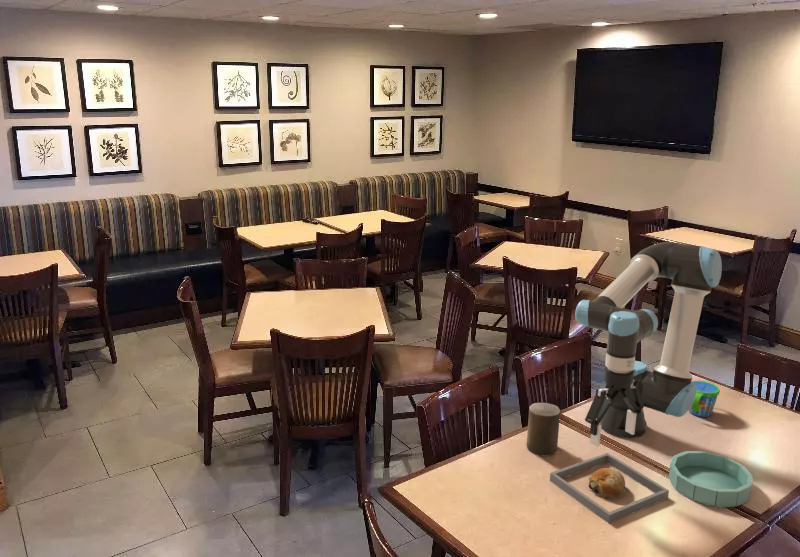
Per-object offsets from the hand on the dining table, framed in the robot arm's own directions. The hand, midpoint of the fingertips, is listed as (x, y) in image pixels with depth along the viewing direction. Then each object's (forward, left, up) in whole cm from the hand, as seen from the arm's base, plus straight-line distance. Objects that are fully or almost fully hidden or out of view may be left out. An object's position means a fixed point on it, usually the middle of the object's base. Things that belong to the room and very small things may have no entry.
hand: (612, 438), depth 186 cm
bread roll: (0, 0, -17) cm, 17 cm away
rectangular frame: (0, 0, -16) cm, 16 cm away
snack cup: (-18, +64, -17) cm, 69 cm away
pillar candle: (-27, -1, -17) cm, 32 cm away
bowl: (+13, +27, -16) cm, 34 cm away
